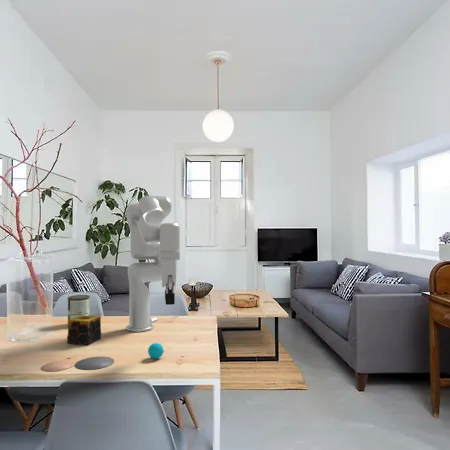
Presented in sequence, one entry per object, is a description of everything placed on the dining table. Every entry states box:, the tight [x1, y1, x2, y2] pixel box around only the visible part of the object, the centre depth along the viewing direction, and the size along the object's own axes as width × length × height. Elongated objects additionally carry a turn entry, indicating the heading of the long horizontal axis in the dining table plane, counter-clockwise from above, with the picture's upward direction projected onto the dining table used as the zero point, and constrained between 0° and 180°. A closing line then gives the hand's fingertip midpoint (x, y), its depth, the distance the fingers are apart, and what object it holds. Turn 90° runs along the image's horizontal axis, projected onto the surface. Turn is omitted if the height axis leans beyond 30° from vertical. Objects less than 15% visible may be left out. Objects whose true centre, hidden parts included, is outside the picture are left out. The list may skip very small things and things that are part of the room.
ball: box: [147, 342, 164, 360], centre depth 135 cm, size 6×6×6 cm
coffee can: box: [67, 294, 90, 321], centre depth 186 cm, size 10×10×14 cm
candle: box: [66, 315, 102, 346], centre depth 157 cm, size 10×10×10 cm
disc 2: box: [74, 356, 115, 371], centre depth 130 cm, size 13×13×1 cm
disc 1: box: [41, 360, 75, 372], centre depth 127 cm, size 10×10×1 cm
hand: (169, 302), depth 138 cm, fingers open, 9 cm apart
